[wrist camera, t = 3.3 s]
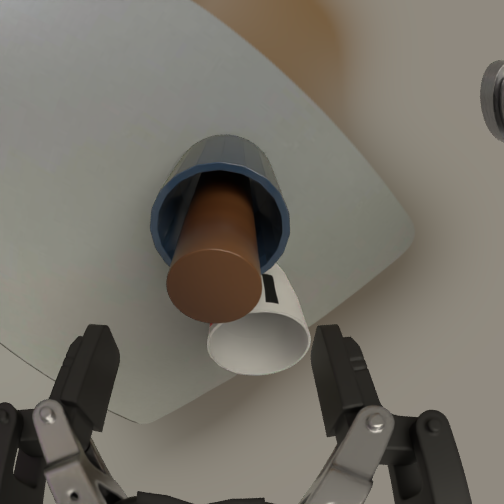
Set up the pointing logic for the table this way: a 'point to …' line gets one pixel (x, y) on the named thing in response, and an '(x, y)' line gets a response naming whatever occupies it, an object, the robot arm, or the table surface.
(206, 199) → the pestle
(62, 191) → the table surface
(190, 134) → the table surface
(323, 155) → the table surface
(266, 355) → the cup
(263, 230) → the crock
